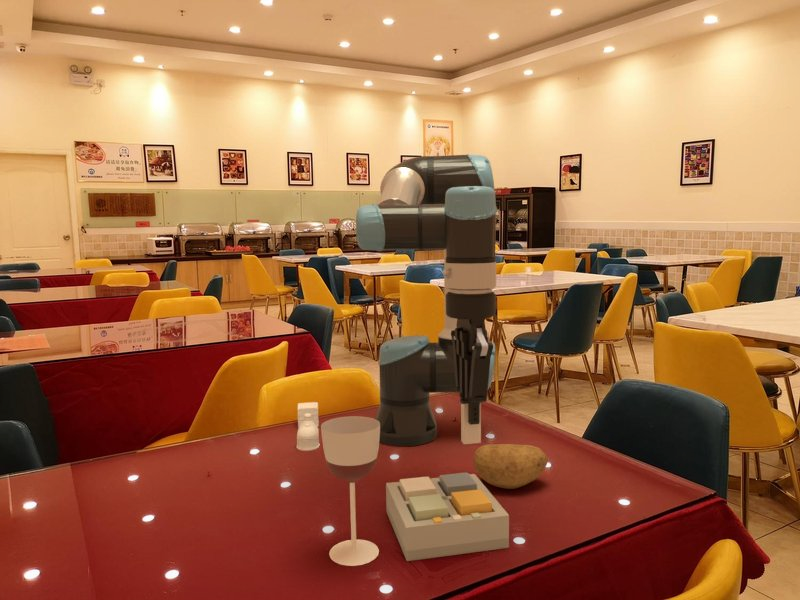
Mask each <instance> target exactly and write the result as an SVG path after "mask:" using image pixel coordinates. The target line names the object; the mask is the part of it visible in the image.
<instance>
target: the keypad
mask: <svg viewBox="0 0 800 600" xmlns="http://www.w3.org/2000/svg"><path fill="white" fill-rule="evenodd" d="M468 474H469V475H470V476H471V478H472V479H473V480H474V481H475V482H476V484H477V490H478V489H481V490H482V491H483V492H484V494H485V495H486V496H487V497H488V499H489V500H490V501H491V502H492V512H489V513H480V514H479V513H471V515H463V516H460V515H458V514H457V512H456V510H455V509H454V507H453V506H452V504H451V496H446V495H445V494H444V492H443V491H442V489H441V488H440V477H433V478H430V477H429V478H430V480H431V482H432V483H433V485H434V486H435V488H436V494H440V496H441V497H442V499H443V500H444V502H445V504H446V505H447V507H448V517H447V518H441V517H436V518H433V519H430V520H421V521H414V520H413V518H412V516H411V514H410V512H409V500H408V501H404V499H403V497H402V495H401V493H400V481H396V482H395V481H394V482H386V483H385V495H386V496H385V500H386V507H385V510H386V514H387V516H388V518H389V522H390V524H391V526H392V528H393V531H394V534H395V536H396V539H397V541H398V543H399V546H400V548H401V551H402V553H403V556H404V558H405V560H406V562H410V561H418V560H426V559H435V558H441V557H450V556H456V555H463V554H471V553H479V552H487V551H488V552H489V551H493V550H494V551H495V550H502V549H508V548H510V515H509V513H508V512H507V511H506V509H505V508H503V507H502V505H501V504H500V502H499V501H498V500H497V499H496V498H495V496H494V495H493V494H492V493H491V492H490V490H489V489H488V488H487V487H486V485H484V484H483V483H484V482H482V481H481V480H480V478H479V477H478V476H477V475H476V474H475V473H472V474H471V473H468Z"/></svg>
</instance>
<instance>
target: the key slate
mask: <svg viewBox="0 0 800 600" xmlns="http://www.w3.org/2000/svg"><path fill="white" fill-rule="evenodd" d="M469 474H470V473H468V472H467V471H466V472H456V473H448V474H439V477H440V488H441V489H442V491H443V492H444V494H445V495H446V496H451V492H460V491H469V490H477V484H476V482H475V481H474V480H473V479H472V478H471V476H470V475H469ZM439 477H438V478H439Z"/></svg>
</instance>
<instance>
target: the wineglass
mask: <svg viewBox="0 0 800 600" xmlns="http://www.w3.org/2000/svg"><path fill="white" fill-rule="evenodd" d="M320 427H321V428H320V429H321V430H320V432H321V440H322V449H323V453H324V457H325V463H326V465H327V469H328V470H329V471H330V473H332V474H333V475H334V476H335V477H337V478H338V479H341V480H344V481H347V482H349V502H350V509H349V510H350V537H351V538H350V539H347V540H343V541H340V542H338V543H337V544H335V545H333V546H332V548H330V550H329V553H328V555H329V558H330V559H331V560H332V561H333V562H334V563H336V564H338V565H341V566H347V567H349V566H350V567H356V566H362V565H365V564H368V563H370V562H372V561H374V560H376V558H377V557H378V556H379V552H380V550H379V548H378V545H376V544H375V543H374V542H372V541H370V540H366V539H359V538H358V539H357V517H356V515H357V514H356V482H357V481H359V480H361V479H363V478H365V477H366V476H368V475H369V474H371V472H372V471H373V470H374V469H375V466H376V464H377V460H378V453H379V447H380V442H379V439H380V422H379V421H378V420H376V418H373V417H370V416H369V417H368V416H362V415H359V416H358V415H357V416H356V415H354V416H351V415H350V416H349V415H348V416H339V417H334V418H331V419H328V420H326V421H323V422H322V424H321V425H320Z"/></svg>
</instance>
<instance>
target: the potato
mask: <svg viewBox="0 0 800 600" xmlns="http://www.w3.org/2000/svg"><path fill="white" fill-rule="evenodd" d="M548 459H549V458H548V456H547V455H546V453H545V452H544V451H543V450H542V449H541V448H540V447H538V446H534V445H529V444H517V443H516V444H513V443H501V444H484V445H482V446H479V447H478V448H477V449H476V450H475V453H474V456H473V468H474V469H475V471H476V473H477V474H478V476H480V477H481V478H482V479H483V480H484V481H485V482H486V483H487V484H490V485H491V486H494V487H497V488H501V489H512V490H514V489H518V488H521V487H524V486H526V485H529V484H530V483H532V482H534V481H535V480H536V479H538V478H539V477H540V476H541V475H542V474H543V473H544V472H545V470H546V467H547V465H548V462H549V460H548Z"/></svg>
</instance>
